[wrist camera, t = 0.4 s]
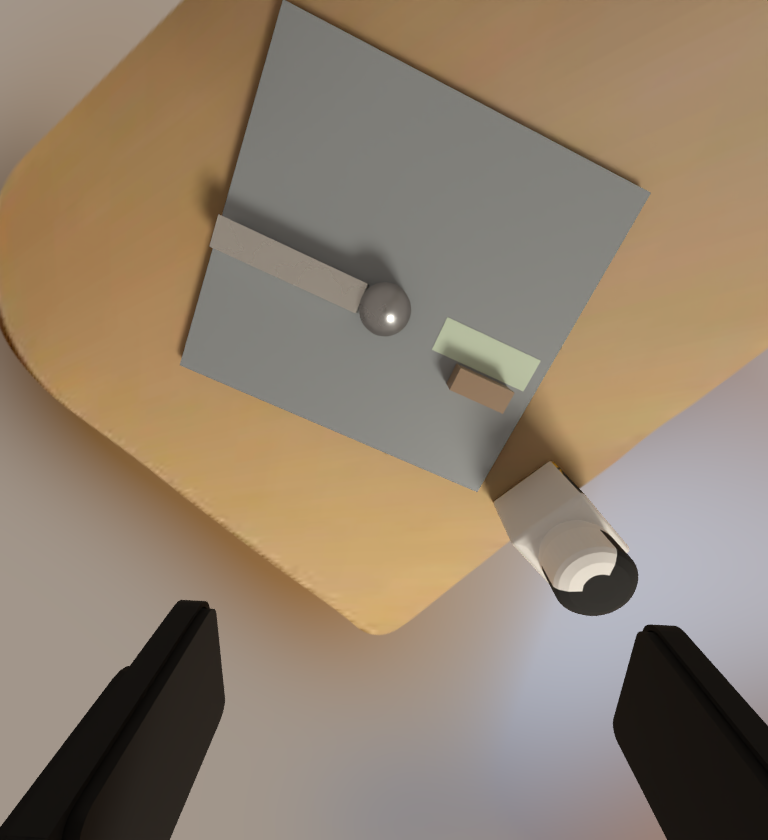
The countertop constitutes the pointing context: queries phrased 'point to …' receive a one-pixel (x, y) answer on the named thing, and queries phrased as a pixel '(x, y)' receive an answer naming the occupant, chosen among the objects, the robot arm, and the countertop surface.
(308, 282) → the swing bar
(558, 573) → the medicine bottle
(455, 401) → the latch plate
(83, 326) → the countertop surface
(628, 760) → the robot arm
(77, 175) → the countertop surface
